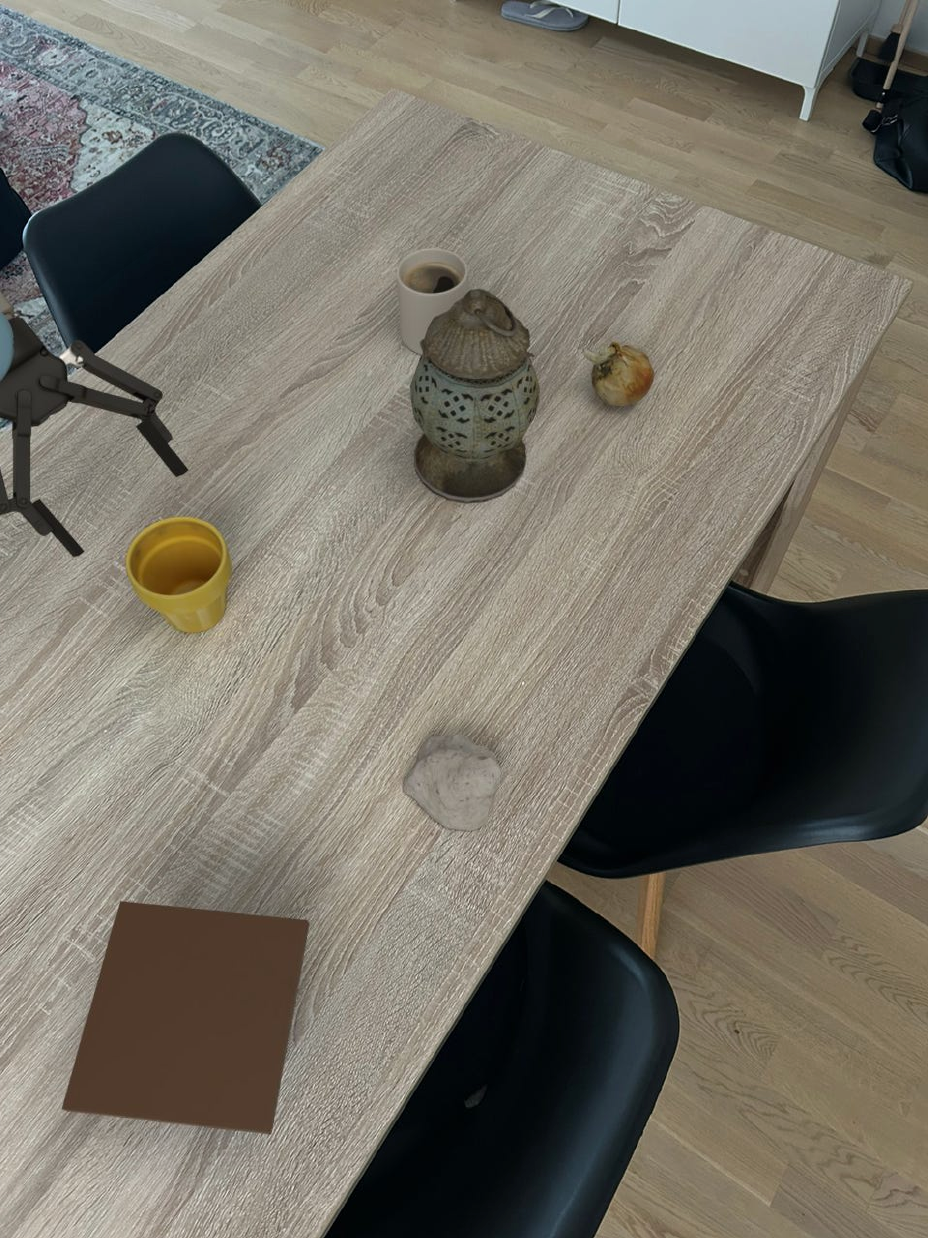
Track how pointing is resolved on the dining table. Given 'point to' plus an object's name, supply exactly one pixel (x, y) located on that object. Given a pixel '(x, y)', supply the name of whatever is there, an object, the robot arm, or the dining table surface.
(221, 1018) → the stand
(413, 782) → the stone
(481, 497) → the lantern
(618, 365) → the onion
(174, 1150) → the dining table surface
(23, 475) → the robot arm
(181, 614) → the flower pot
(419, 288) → the mug
